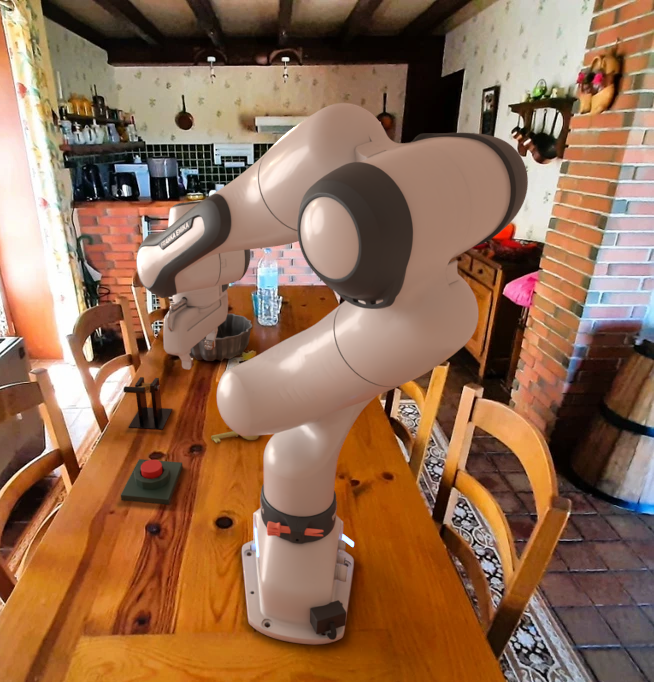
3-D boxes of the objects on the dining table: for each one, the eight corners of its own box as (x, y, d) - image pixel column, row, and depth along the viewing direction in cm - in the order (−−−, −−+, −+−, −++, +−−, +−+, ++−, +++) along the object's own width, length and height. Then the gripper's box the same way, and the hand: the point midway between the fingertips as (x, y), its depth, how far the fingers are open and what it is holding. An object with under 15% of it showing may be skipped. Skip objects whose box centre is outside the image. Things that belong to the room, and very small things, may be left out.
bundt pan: (223, 331, 183) (222, 306, 179) (269, 353, 163) (269, 325, 159) (162, 349, 170) (160, 323, 167) (204, 375, 150) (202, 346, 146)
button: (159, 480, 99) (158, 473, 98) (138, 478, 100) (137, 471, 99) (165, 467, 103) (164, 460, 102) (145, 465, 104) (144, 458, 103)
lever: (143, 395, 112) (143, 385, 112) (123, 394, 113) (123, 384, 113) (158, 392, 124) (158, 383, 124) (139, 391, 125) (140, 382, 125)
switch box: (169, 508, 96) (167, 492, 95) (121, 503, 98) (119, 487, 97) (182, 470, 107) (181, 455, 106) (139, 467, 109) (138, 452, 108)
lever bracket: (162, 433, 121) (158, 391, 117) (128, 430, 123) (123, 389, 119) (172, 412, 130) (169, 373, 126) (140, 410, 132) (136, 372, 128)
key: (209, 443, 116) (208, 436, 115) (244, 423, 124) (244, 416, 123) (230, 456, 111) (230, 448, 110) (265, 434, 119) (265, 426, 118)
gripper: (183, 310, 80) (188, 384, 85) (232, 277, 96) (234, 340, 102) (151, 306, 83) (158, 377, 88) (204, 274, 99) (207, 336, 105)
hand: (199, 357), depth 95 cm, fingers open, 8 cm apart
